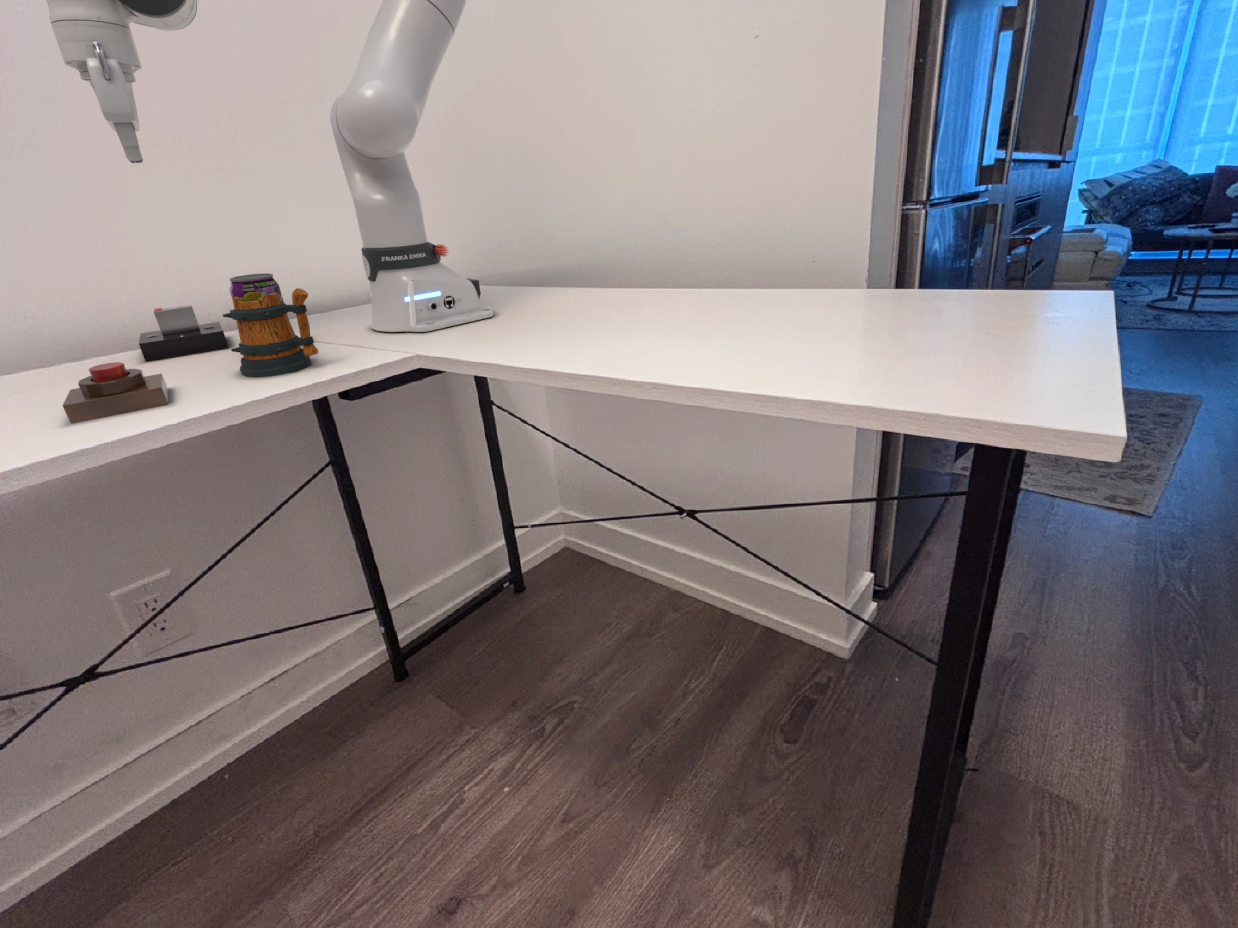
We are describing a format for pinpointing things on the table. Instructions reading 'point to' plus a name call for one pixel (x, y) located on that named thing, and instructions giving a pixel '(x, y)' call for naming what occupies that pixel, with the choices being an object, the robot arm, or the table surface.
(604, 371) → the table surface
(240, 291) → the beverage can
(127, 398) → the block
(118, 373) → the button
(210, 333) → the black flat block
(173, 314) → the tilted grey flap
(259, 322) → the mug
